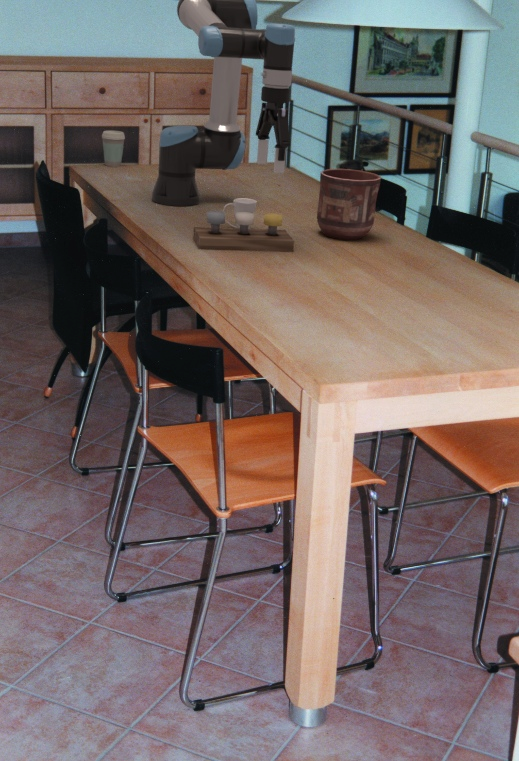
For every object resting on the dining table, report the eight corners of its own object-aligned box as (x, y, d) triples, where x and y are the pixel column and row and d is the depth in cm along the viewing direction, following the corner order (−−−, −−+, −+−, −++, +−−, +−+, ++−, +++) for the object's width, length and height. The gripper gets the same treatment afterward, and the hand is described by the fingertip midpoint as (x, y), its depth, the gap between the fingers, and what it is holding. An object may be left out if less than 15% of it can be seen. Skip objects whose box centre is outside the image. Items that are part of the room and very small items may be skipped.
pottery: (375, 245, 282) (382, 182, 275) (314, 239, 282) (320, 176, 276) (372, 231, 298) (379, 171, 292) (314, 225, 299) (320, 166, 292)
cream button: (233, 230, 272) (234, 211, 270) (251, 230, 273) (252, 212, 271) (236, 234, 267) (237, 215, 265) (254, 235, 268) (255, 216, 266)
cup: (256, 231, 286) (259, 203, 283) (223, 229, 285) (224, 202, 282) (253, 225, 293) (255, 198, 290) (220, 223, 291) (221, 196, 288)
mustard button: (261, 230, 273) (263, 212, 271) (279, 231, 274) (280, 213, 272) (265, 235, 269) (266, 216, 267) (282, 236, 270) (284, 217, 268)
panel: (193, 237, 274) (194, 226, 273) (284, 240, 279) (285, 229, 278) (199, 249, 263) (199, 238, 262) (293, 251, 268) (294, 240, 267)
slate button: (204, 229, 270) (205, 210, 268) (222, 229, 271) (223, 211, 269) (207, 233, 266) (208, 215, 264) (225, 234, 267) (226, 215, 265)
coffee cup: (128, 167, 360) (129, 134, 356) (106, 167, 356) (106, 134, 352) (119, 162, 367) (119, 130, 362) (97, 163, 363) (98, 130, 358)
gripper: (247, 81, 266) (242, 160, 274) (279, 91, 244) (272, 176, 252) (273, 82, 269) (267, 160, 276) (307, 92, 247) (299, 177, 254)
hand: (270, 168), depth 264 cm, fingers open, 13 cm apart
